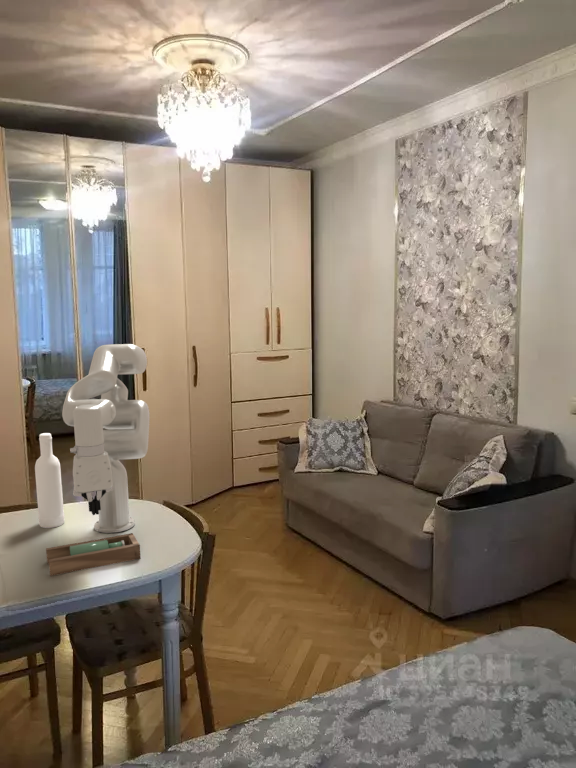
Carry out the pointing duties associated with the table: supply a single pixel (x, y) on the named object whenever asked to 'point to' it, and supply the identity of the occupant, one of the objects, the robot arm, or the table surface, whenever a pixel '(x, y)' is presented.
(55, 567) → the u rest
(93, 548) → the bottle
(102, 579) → the table surface
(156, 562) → the table surface
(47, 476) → the bottle
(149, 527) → the table surface
